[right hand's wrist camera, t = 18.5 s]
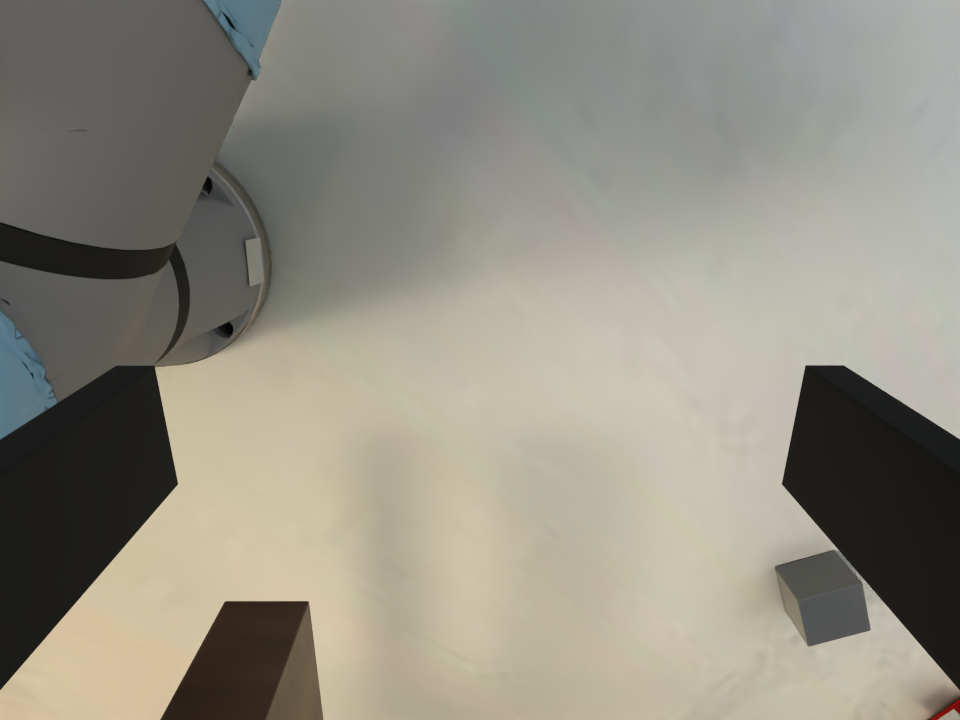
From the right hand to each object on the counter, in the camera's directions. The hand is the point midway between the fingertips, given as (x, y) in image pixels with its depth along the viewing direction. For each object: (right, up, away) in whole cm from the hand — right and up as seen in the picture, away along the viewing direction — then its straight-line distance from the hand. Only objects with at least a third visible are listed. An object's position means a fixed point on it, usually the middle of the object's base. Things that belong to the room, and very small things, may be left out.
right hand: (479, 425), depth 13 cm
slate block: (+28, -17, +39) cm, 51 cm away
